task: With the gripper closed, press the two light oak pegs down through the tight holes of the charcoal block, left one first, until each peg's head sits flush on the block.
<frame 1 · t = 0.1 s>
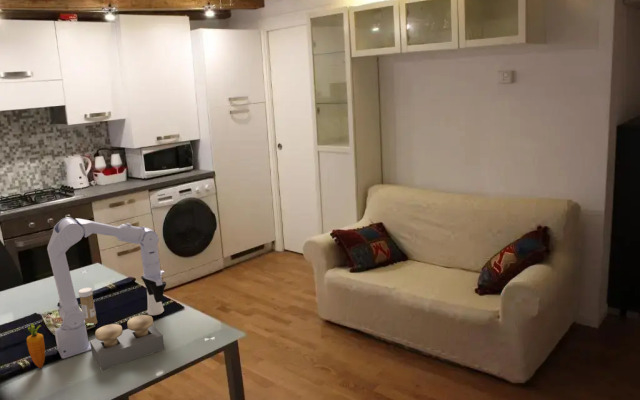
hand: (155, 297, 197), 10 cm above the table, tool pointing down, fingers open, 7 cm apart
cosmetic bottle: (155, 312, 209), on the table
carrot: (40, 368, 174), on the table
peg block: (128, 351, 182), on the table
right peg: (141, 329, 183), point 7 cm above the table, slide at 0.0 cm
sprinkles bottle: (90, 324, 202), on the table
left peg: (110, 338, 177), point 7 cm above the table, slide at 0.0 cm
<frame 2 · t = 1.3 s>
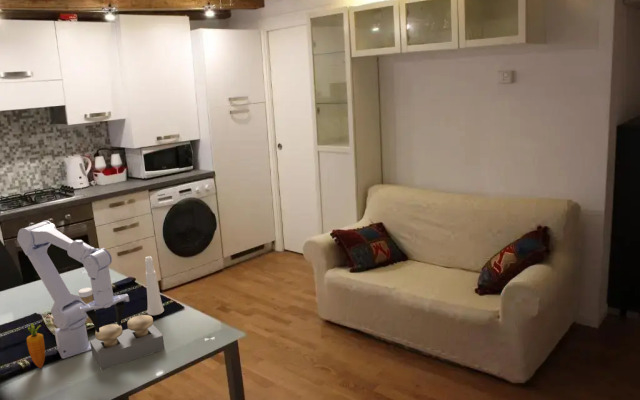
hand: (108, 327, 176), 10 cm above the table, tool pointing down, fingers open, 6 cm apart
nothing on the table moved.
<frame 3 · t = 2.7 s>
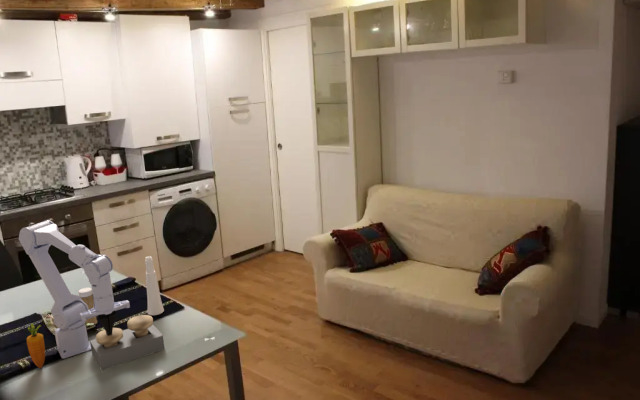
hand: (109, 334, 177), 8 cm above the table, tool pointing down, fingers closed, pressing on left peg
left peg: (110, 342, 177), point 5 cm above the table, slide at 1.3 cm, touching gripper
everything else where it was.
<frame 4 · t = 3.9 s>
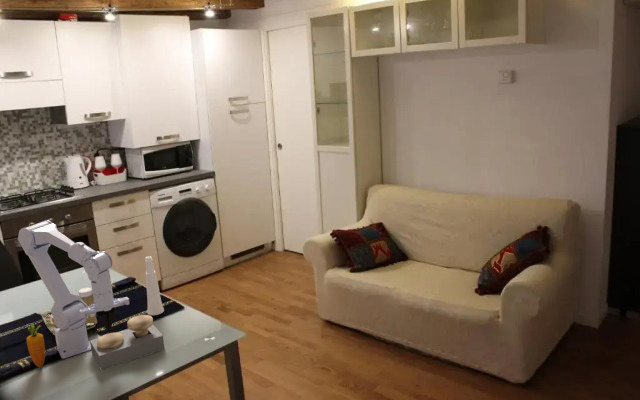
hand: (108, 330, 176), 9 cm above the table, tool pointing down, fingers closed
left peg: (111, 347, 178), point 3 cm above the table, slide at 3.0 cm
everything else where it was.
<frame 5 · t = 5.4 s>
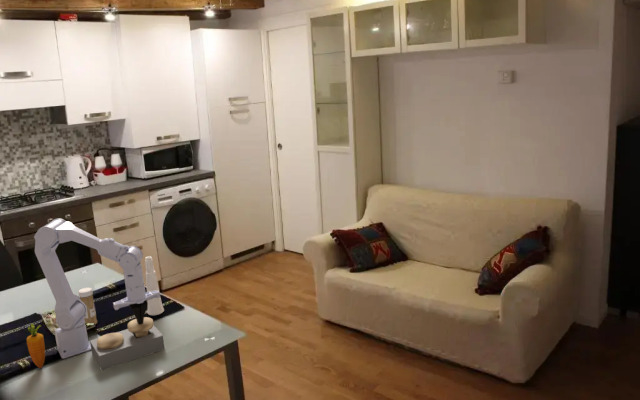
hand: (140, 323, 182), 9 cm above the table, tool pointing down, fingers closed, pressing on right peg
right peg: (141, 331, 183), point 6 cm above the table, slide at 0.8 cm, touching gripper
everything else where it was.
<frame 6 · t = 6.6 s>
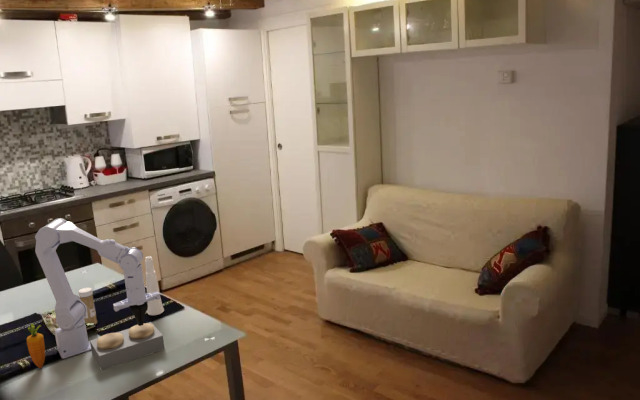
hand: (140, 324, 182), 8 cm above the table, tool pointing down, fingers closed
right peg: (142, 337, 183), point 3 cm above the table, slide at 3.0 cm
everything else where it was.
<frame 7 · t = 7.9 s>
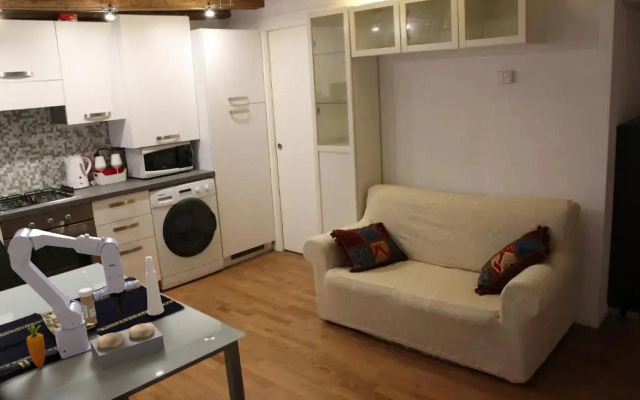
hand: (120, 312, 187), 10 cm above the table, tool pointing down, fingers closed
nothing on the table moved.
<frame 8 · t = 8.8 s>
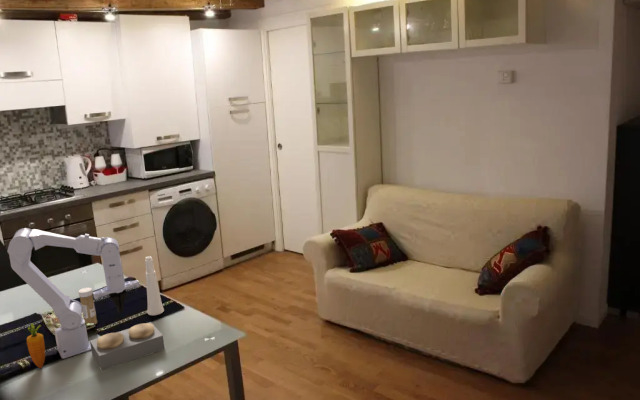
hand: (120, 312, 187), 10 cm above the table, tool pointing down, fingers closed
nothing on the table moved.
at the end: left peg slide at 3.0 cm; right peg slide at 3.0 cm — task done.
